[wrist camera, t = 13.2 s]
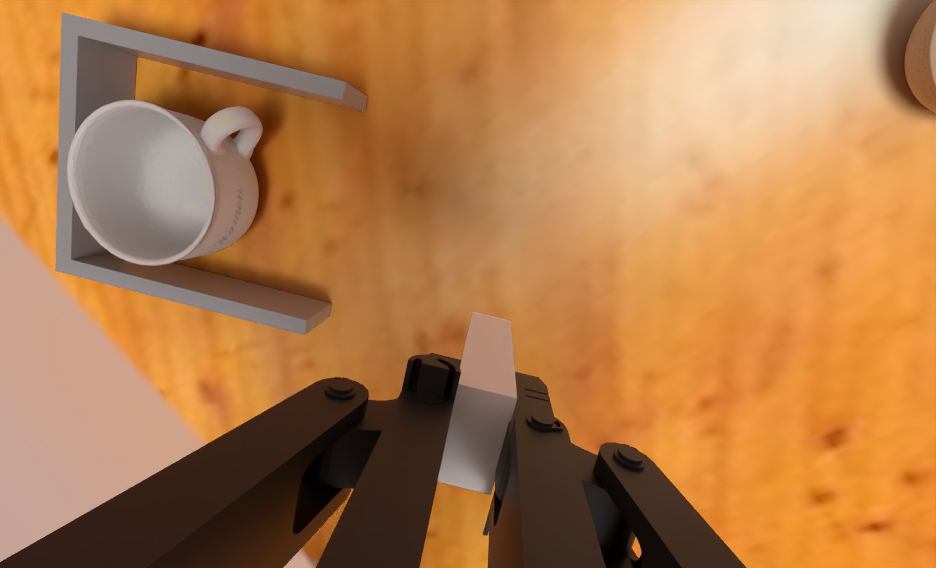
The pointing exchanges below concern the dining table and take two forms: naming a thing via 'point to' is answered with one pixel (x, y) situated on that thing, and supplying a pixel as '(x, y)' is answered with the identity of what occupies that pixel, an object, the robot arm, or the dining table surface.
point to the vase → (923, 58)
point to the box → (113, 79)
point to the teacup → (164, 180)
